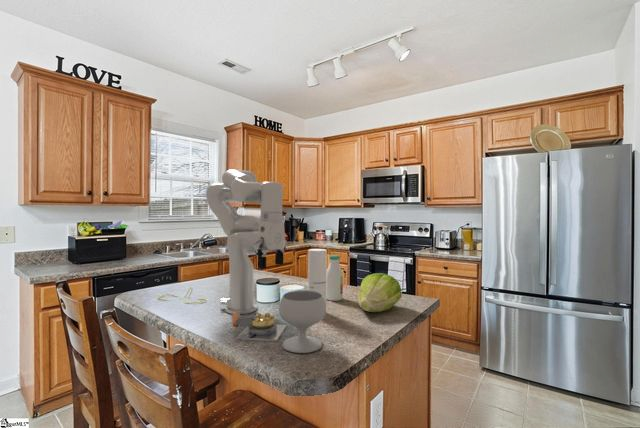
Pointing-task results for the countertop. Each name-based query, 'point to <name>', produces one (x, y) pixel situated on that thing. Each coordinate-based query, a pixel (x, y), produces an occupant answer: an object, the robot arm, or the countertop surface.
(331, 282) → the milk bottle
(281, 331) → the cap plate
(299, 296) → the chalice
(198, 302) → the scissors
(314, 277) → the cylindrical container
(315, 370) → the countertop surface
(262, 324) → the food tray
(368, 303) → the lettuce
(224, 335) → the countertop surface
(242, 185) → the robot arm
